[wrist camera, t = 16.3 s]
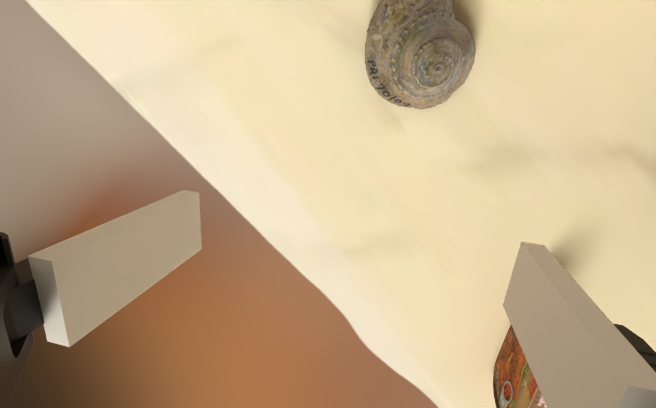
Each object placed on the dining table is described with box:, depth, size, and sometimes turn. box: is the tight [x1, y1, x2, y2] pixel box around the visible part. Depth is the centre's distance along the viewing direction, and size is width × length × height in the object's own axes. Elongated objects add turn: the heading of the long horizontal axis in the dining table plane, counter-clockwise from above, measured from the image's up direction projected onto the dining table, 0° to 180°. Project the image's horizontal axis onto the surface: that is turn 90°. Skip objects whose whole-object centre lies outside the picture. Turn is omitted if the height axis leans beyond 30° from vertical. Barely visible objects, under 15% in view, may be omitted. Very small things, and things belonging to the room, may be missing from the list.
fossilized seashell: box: [365, 0, 475, 109], centre depth 33 cm, size 11×11×7 cm
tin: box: [493, 325, 547, 408], centre depth 38 cm, size 15×3×8 cm, turn 171°
